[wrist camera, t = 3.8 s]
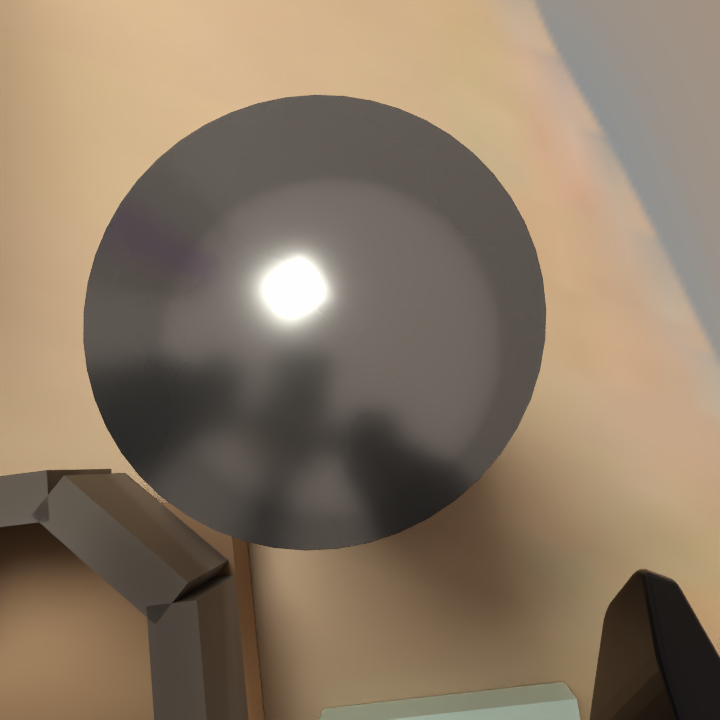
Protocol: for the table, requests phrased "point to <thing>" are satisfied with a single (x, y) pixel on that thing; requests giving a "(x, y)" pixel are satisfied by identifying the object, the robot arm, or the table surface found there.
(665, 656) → the robot arm
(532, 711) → the mint green knobbed plate
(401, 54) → the table surface
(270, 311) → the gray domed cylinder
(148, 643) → the brown board with ring
